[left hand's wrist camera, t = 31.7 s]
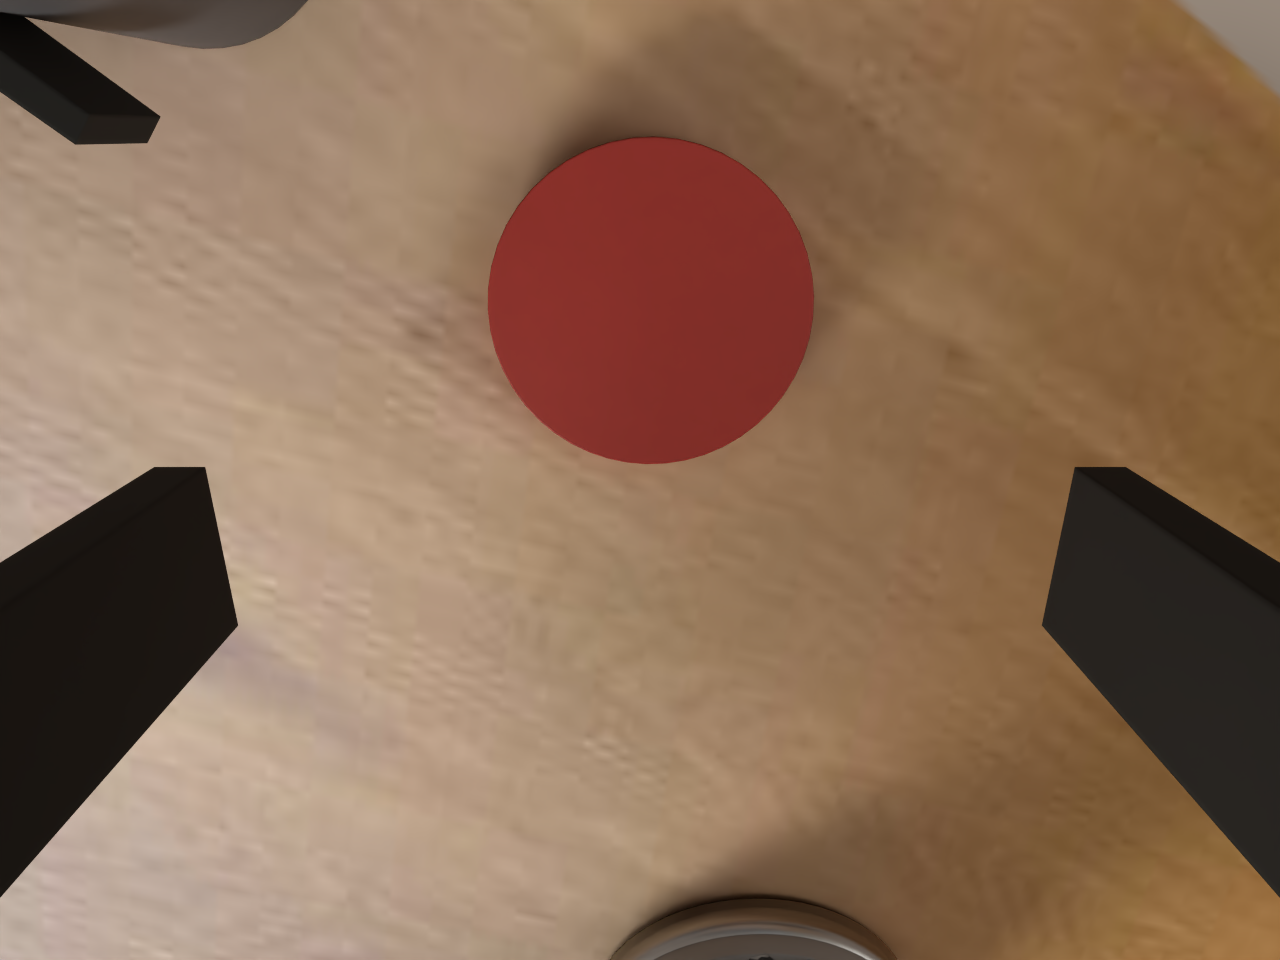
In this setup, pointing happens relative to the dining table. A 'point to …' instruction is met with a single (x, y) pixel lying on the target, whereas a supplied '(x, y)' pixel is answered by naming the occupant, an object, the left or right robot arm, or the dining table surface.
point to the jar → (166, 18)
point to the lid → (650, 300)
